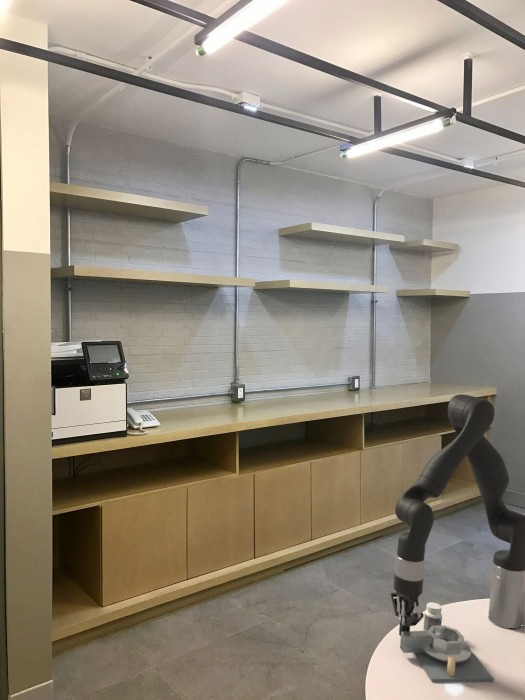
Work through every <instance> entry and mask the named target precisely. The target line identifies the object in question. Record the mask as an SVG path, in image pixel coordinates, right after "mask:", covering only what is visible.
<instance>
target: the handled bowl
mask: <svg viewBox="0 0 525 700" xmlns="http://www.w3.org/2000/svg"><path fill="white" fill-rule="evenodd" d="M399 649H400V650H401V651H402V652H403V654H411V653H412V654H413V653H419V652H424V653H425V654H427V655H428V656H430V657H432V658H434V659H436V660H439V661H442V662H446V663H448V657H449V656H453V657H455V658H456V662H455V663H463V662H466V661H468V660H469V659H470V657H471V651H472V649H471V647H470V646H469V644H468V643H467V642H466V641H465V637H464V636H463V634H462V633H461V632H460V631H459V630H458V629H456V628H453V627H450V626H447V625H442V624H441V626H431V628H430V629H429V630H428V632H427V631H423V630H410V631H401V636H400V644H399Z"/></svg>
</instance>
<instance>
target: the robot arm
mask: <svg viewBox="0 0 525 700" xmlns="http://www.w3.org/2000/svg"><path fill="white" fill-rule="evenodd" d="M495 413H496V412H495V407H494V405H493V404H492V402H490V401H489V400H487V399H485V398H481V397H478V396H473V395H468V394H463V393H462V394H460V393H459V394H456V395H454V396H452V397H451V399H449V402H448V406H447V415H448V419H449V420H448V421H450V424H451V426H452V428H453V430H454V432H455V434H456V435H457V436H456V437H455V438H454V439H453V440H452V441H451V442H450V443H448V444H447V445H446V446H445V447H443V448H442V449H441V450H438V451H437V452H436V453H435V454H434V455H432V456H431V457H430V459H429V460H428V461H427V462H426V464H425V466H424V468H423V469H422V471H421V472H420V475H419V476H418V478H417V480H416V481H415V482H413V484H411V485H410V486H409V487H408V488H407V489H406V490H405V491H404V492H403V493H402V494H401V495H400V496H399V497H398V500H397V501H396V504H395V508H394V512H395V516H396V518H397V519H398V520H399V521H401V522H403V523H405V524H406V525H408V526H409V531H404V532H401V534H400V535H399V536H398V540H397V550H396V558H395V562H394V563H395V564H394V574H393V575H394V576H393V586H392V587H393V590H395V592H391V593H390V598H391V601H392V605H393V606H392V607H393V610H394V615H395V617H398V622H399V628H398V629H399V630H398V635H399V636H400V637H401V631H411V627H414V626H417V625H418V623H420V621H422V619H424V616H425V614H424V612H420V609H419V597H420V596H421V595H423V588H424V577H425V554H426V553H425V552H426V544H427V541H428V539H429V537H430V534H431V530H432V529H433V525H434V521H435V517H434V516H435V515H434V512H433V508H432V507H431V505H429V504H427V503H426V502H425V501H426V500H428V499H429V498H430V499H431V498H433V499H437V498H439V497H440V496H441V495H442V494H443V493H444V490H445V488H446V487H447V486H448V483H449V481H450V479H451V478H452V476H453V475H454V473H455V472H456V470H457V468H458V467H459V466H460V465H461V463H462V462H463V461H464V459H465V458H467V461H468V463H469V466H470V469H471V473H472V475H473V478H474V481H475V483H476V486H477V488H478V491H479V493H480V494H479V495H481V499H482V502H483V506H484V510H485V514H486V517H487V522H488V526H489V530H490V531H491V534H492V535H493V536H494V537H495V538H497V539H498V540H501V541H503V542H505V543H509V544H510V546H509V550H508V549H507V550H506V549H504V550H503V549H502V550H497V551H495V552H494V554H493V558H492V567H491V581H490V583H491V584H490V593H489V595H490V596H489V605H488V616H487V618H488V620H489V621H490V622H491V623H492V624H494V625H496V626H499V627H501V628H505V629H509V628H517V629H519V628H518V627H520V626H521V625H525V514H522V513H520V512H519V513H518V512H516V511H513V510H510V509H508V507H507V506H506V504H505V501H504V498H503V497H504V494H505V493H506V491H507V489H508V487H509V483H510V476H509V473H508V472H509V471H508V469H507V466H506V463H505V461H504V459H503V457H502V455H501V454H500V453H499V451H498V450H497V449H496V448H495V446H493V444H492V443H491V442H490V441H489V440H488V439H487V438H486V437H485V434H486V433H487V431H488V430H489V428H490V427H491V426H492V424H493V421H494V419H495V415H496V414H495ZM521 627H522V626H521ZM521 627H520V628H521Z"/></svg>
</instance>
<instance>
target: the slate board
mask: <svg viewBox="0 0 525 700" xmlns="http://www.w3.org/2000/svg"><path fill="white" fill-rule="evenodd" d="M412 654H413V655H414V657H415V658H416V660H417V661H418V663H419V664H420V666H421V668H422V669H423V671H424V672H425V673H426V676H427V677H428V679H429V680H430V682H432V683H455V682H456V683H469V682H470V683H475V682H476V683H477V682H478V683H480V682H481V683H484V682H485V683H487V682H489V683H493V682H495V678H494V677H493V676H492V675H493V674H491V673H490V672H489V670H488V669H487V668H486V667H485V666H484V664H483V663H482V662H481V661H480V660H479V658H478V657H477V656H476V655H475V653H474V652H473V651H472V650H471V657H470V659H469V660H468V661H466V662H463V663H455V662H456V658H455V657H453V656H449V657H448V663H446V662H442V661H439V660H436V659H434V658H432V657H430V656H428V655H427V654H425V653H424V652H419V653H412Z"/></svg>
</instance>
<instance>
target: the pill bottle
mask: <svg viewBox="0 0 525 700" xmlns="http://www.w3.org/2000/svg"><path fill="white" fill-rule="evenodd" d="M442 619H443V614H442V606H441V604H439V603H437V602H427V604H426V609H425V610H424V617H423V629H422V631H427V632H428V630H429V629H430V628H431V626H442V621H443V620H442Z"/></svg>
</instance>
